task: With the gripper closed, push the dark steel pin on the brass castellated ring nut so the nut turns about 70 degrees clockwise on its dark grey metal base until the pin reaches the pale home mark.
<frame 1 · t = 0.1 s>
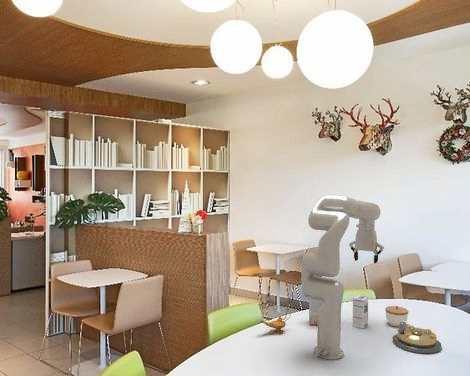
hand: (365, 261, 221), 31 cm above the table, tool pointing down, fingers open, 9 cm apart
lidded jar: (396, 325, 220), on the table
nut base: (416, 344, 196), on the table
cracker box: (323, 324, 220), on the table
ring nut: (416, 331, 195), point 6 cm above the table, hinge at 0.0°
syrup box: (360, 326, 217), on the table
magic lamp: (275, 332, 208), on the table
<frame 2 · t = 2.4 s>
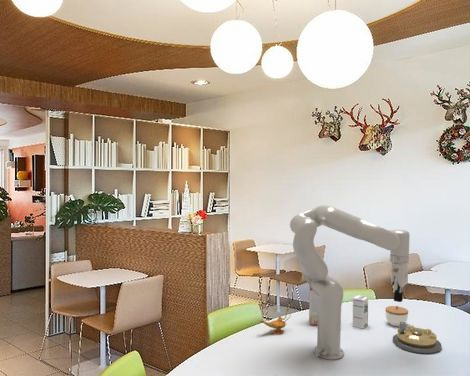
hand: (398, 300, 190), 21 cm above the table, tool pointing down, fingers closed
nothing on the table moved.
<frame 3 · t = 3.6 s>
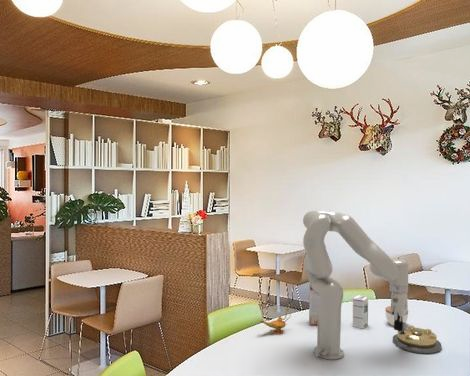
hand: (398, 329, 190), 8 cm above the table, tool pointing down, fingers closed
nothing on the table moved.
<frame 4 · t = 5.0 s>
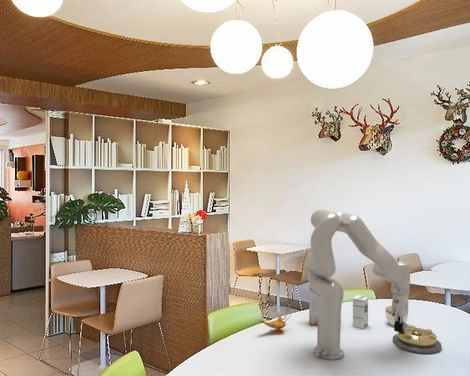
hand: (398, 331, 193), 7 cm above the table, tool pointing down, fingers closed
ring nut: (416, 331, 195), point 6 cm above the table, hinge at -3.6°, touching gripper
everything else where it was.
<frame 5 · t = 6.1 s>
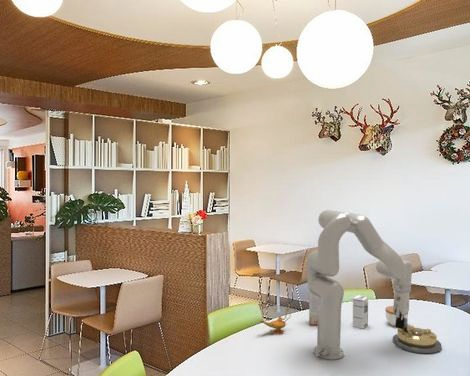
hand: (399, 327, 199), 6 cm above the table, tool pointing down, fingers closed
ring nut: (416, 331, 195), point 6 cm above the table, hinge at -58.9°, touching gripper
everything else where it was.
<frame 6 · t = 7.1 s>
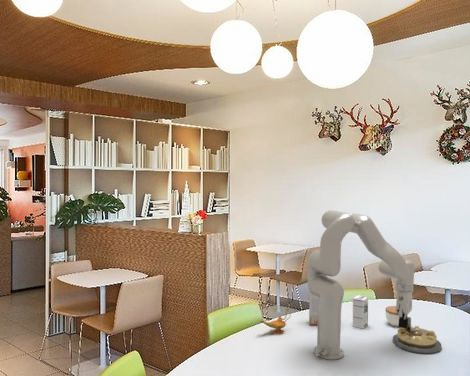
hand: (402, 327, 200), 6 cm above the table, tool pointing down, fingers closed
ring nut: (416, 331, 195), point 6 cm above the table, hinge at -77.6°, touching gripper
everything else where it was.
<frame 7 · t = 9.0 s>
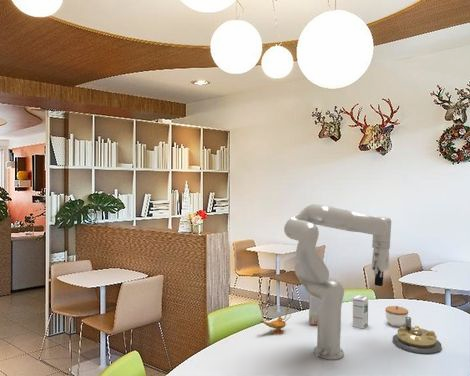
hand: (378, 285, 197), 26 cm above the table, tool pointing down, fingers closed
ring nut: (416, 331, 195), point 6 cm above the table, hinge at -77.8°
everything else where it was.
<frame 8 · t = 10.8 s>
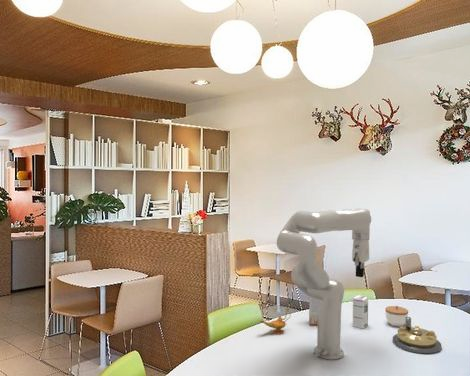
hand: (359, 276, 199), 29 cm above the table, tool pointing down, fingers closed
nothing on the table moved.
at the end: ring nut at -78° (first picture: +0°) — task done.
